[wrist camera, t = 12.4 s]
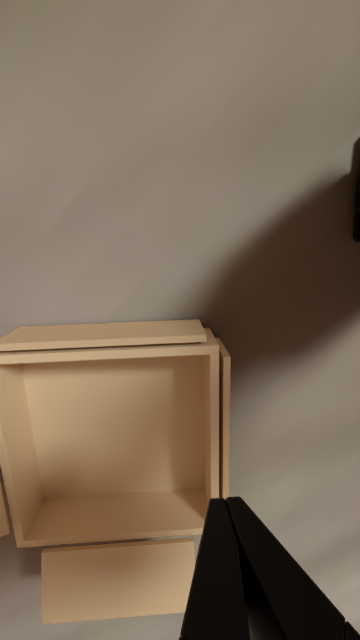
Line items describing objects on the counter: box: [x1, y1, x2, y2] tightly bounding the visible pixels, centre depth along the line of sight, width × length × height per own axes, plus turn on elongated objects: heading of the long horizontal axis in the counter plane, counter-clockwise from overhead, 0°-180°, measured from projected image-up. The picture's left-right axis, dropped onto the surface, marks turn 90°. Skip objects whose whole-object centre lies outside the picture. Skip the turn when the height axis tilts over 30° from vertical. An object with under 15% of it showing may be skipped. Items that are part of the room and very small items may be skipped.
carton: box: [0, 319, 231, 548], centre depth 20 cm, size 14×14×4 cm
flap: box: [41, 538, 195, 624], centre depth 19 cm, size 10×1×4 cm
